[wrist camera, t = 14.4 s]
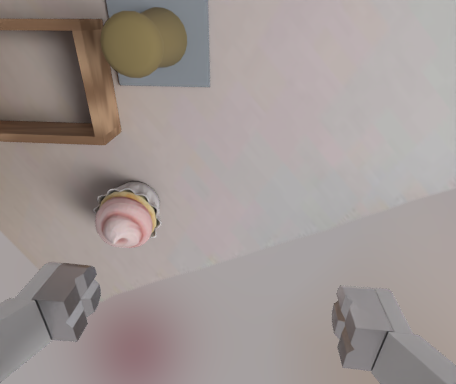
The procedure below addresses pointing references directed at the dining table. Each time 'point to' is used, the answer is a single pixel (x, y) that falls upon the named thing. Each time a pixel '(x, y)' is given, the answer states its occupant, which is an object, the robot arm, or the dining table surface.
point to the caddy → (93, 83)
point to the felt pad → (195, 51)
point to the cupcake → (128, 215)
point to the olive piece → (143, 41)
